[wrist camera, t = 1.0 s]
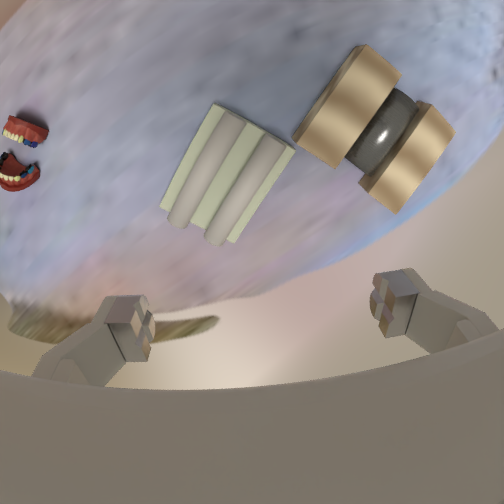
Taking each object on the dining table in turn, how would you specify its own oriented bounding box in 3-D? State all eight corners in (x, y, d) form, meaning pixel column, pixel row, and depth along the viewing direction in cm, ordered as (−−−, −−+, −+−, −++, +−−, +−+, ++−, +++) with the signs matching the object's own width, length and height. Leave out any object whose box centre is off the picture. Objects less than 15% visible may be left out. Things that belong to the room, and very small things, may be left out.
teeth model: (28, 128, 28) (16, 202, 34) (53, 119, 33) (38, 186, 39) (-6, 113, 26) (-15, 183, 31) (20, 105, 31) (8, 169, 37)
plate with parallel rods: (214, 102, 34) (210, 105, 30) (293, 147, 38) (300, 156, 34) (162, 201, 42) (153, 216, 37) (234, 236, 45) (233, 254, 41)
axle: (383, 86, 33) (399, 88, 29) (407, 108, 34) (425, 113, 30) (337, 151, 38) (348, 160, 34) (363, 170, 40) (376, 181, 36)
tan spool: (355, 46, 30) (366, 44, 27) (441, 126, 35) (456, 132, 32) (291, 137, 37) (296, 143, 34) (385, 203, 43) (395, 214, 39)
